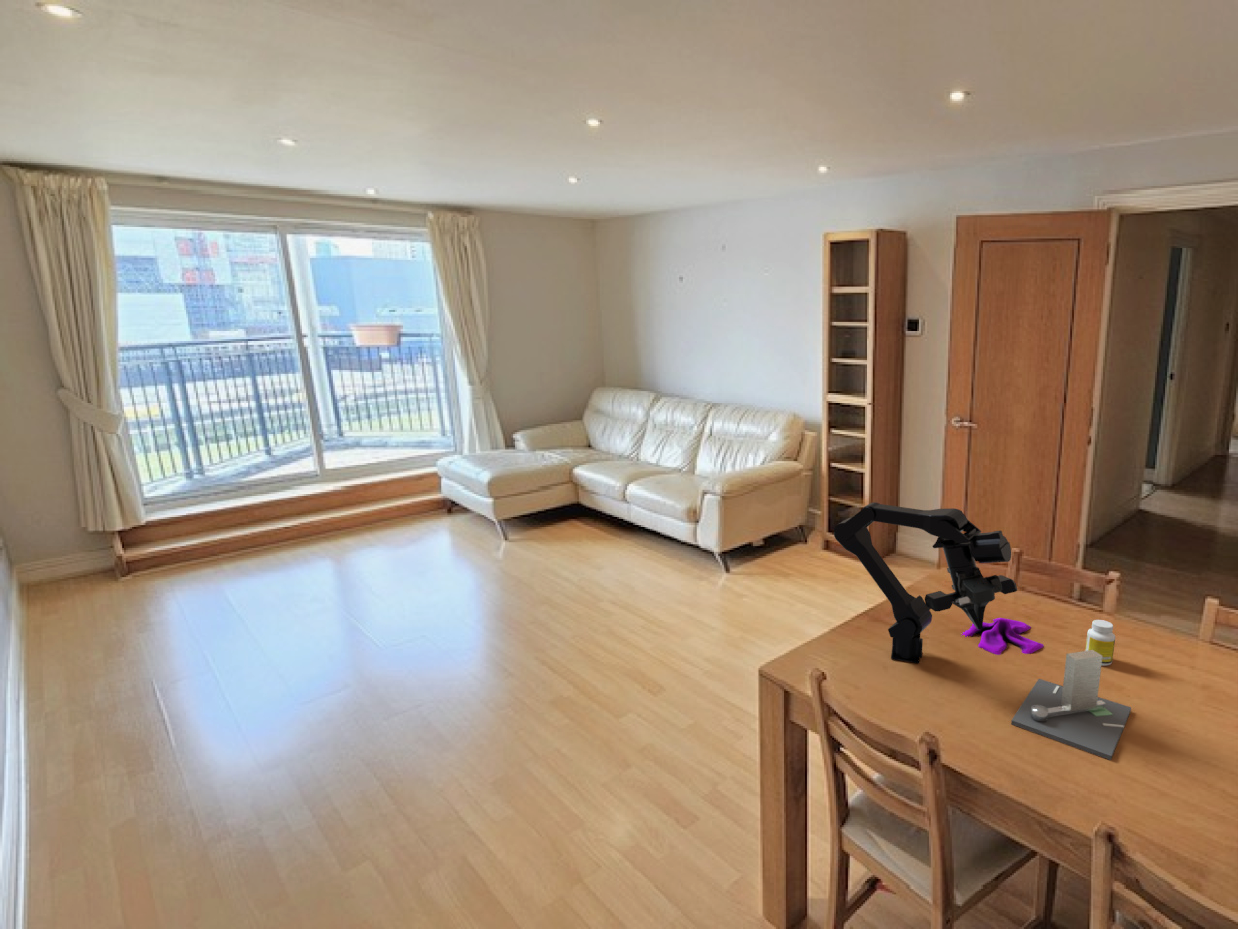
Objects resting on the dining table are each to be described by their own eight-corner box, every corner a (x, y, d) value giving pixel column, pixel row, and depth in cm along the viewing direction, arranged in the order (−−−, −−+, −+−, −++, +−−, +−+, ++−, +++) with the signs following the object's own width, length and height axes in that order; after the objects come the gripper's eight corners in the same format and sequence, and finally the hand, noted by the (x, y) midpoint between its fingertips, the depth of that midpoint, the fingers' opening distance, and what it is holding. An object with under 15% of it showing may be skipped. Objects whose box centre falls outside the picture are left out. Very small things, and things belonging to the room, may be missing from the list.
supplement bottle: (1116, 667, 154) (1121, 629, 151) (1090, 666, 155) (1095, 628, 152) (1105, 655, 159) (1109, 618, 156) (1080, 654, 160) (1084, 617, 157)
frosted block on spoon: (1037, 723, 134) (1043, 665, 131) (1027, 714, 137) (1032, 657, 134) (1108, 711, 136) (1116, 654, 133) (1096, 703, 139) (1103, 647, 136)
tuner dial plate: (1112, 761, 124) (1112, 755, 124) (1011, 724, 137) (1011, 719, 136) (1131, 711, 138) (1132, 706, 137) (1038, 682, 150) (1038, 677, 150)
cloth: (1019, 619, 179) (1021, 599, 177) (1061, 655, 161) (1063, 632, 159) (936, 623, 180) (937, 603, 179) (968, 659, 162) (970, 636, 161)
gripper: (935, 582, 142) (954, 650, 143) (1021, 559, 141) (1040, 628, 141) (915, 571, 153) (933, 635, 154) (995, 550, 152) (1012, 614, 152)
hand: (979, 628), depth 150 cm, fingers closed
